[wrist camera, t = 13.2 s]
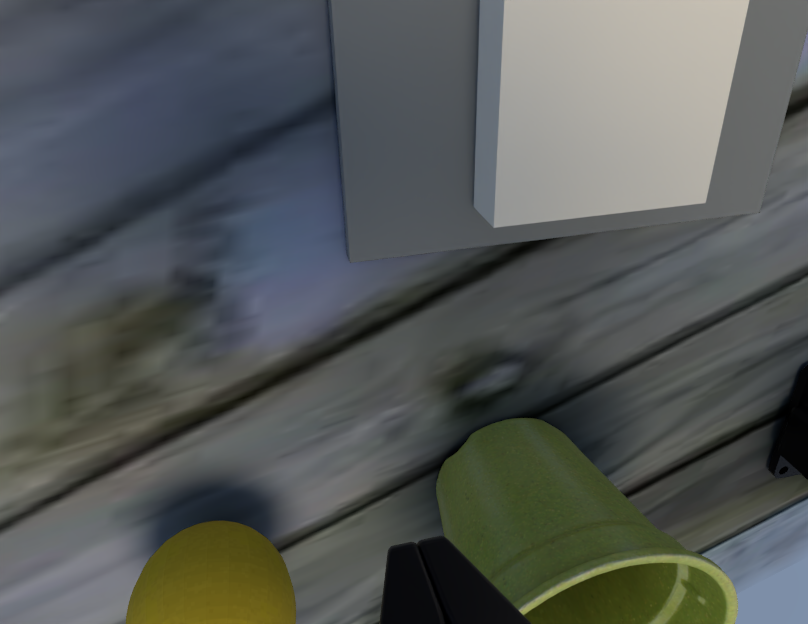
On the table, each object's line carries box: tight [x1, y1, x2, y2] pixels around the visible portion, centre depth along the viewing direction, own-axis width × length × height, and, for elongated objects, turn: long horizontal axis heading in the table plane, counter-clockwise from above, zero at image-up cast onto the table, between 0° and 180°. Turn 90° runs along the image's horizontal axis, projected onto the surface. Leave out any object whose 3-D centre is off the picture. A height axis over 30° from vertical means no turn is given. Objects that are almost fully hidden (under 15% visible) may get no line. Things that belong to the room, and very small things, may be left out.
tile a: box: [474, 0, 749, 228], centre depth 19 cm, size 2×6×7 cm
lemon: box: [126, 521, 296, 624], centre depth 22 cm, size 6×6×8 cm
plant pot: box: [436, 418, 738, 624], centre depth 24 cm, size 9×9×9 cm
